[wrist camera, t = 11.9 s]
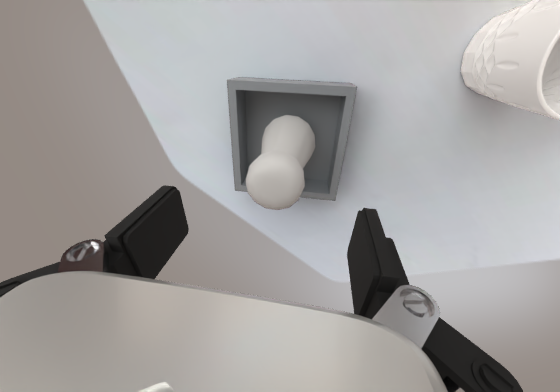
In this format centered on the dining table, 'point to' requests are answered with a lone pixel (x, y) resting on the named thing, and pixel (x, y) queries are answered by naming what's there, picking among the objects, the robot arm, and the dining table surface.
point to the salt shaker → (281, 163)
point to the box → (296, 102)
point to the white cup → (518, 58)
